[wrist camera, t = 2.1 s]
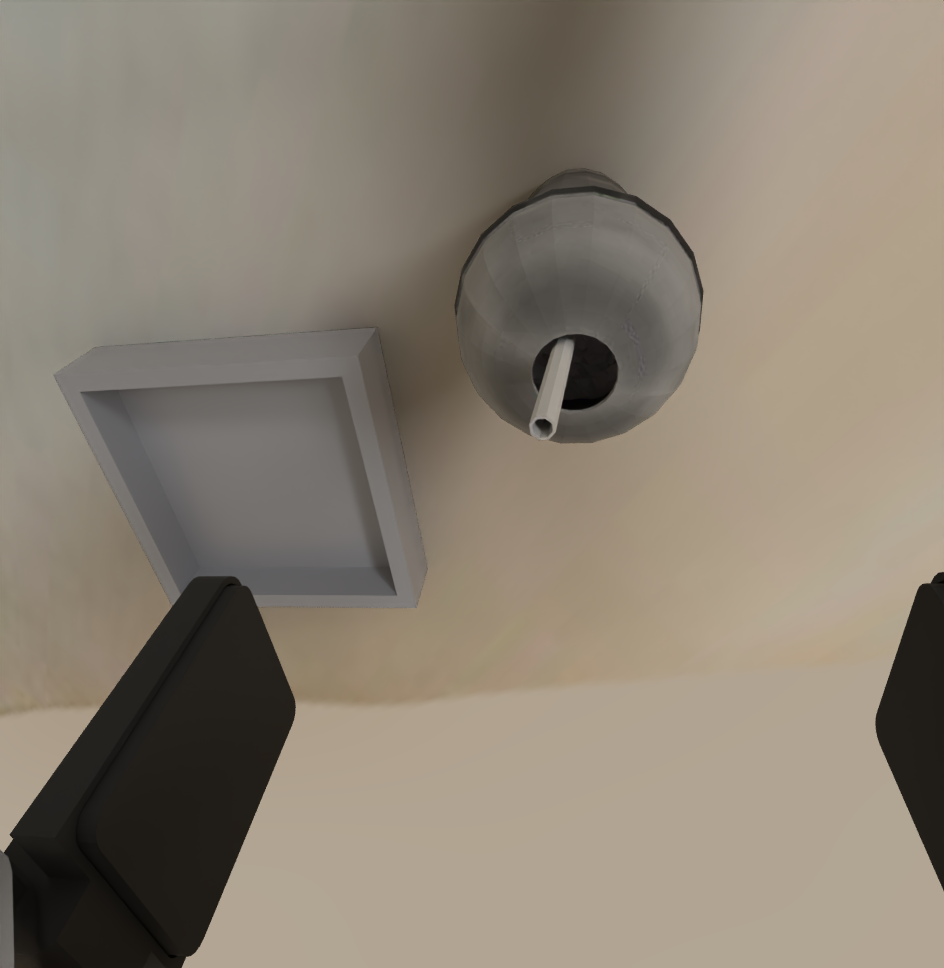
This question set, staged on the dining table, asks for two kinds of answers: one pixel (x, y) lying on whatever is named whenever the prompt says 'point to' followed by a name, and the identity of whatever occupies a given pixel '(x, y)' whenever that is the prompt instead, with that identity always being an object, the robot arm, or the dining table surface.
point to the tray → (258, 464)
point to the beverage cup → (578, 310)
